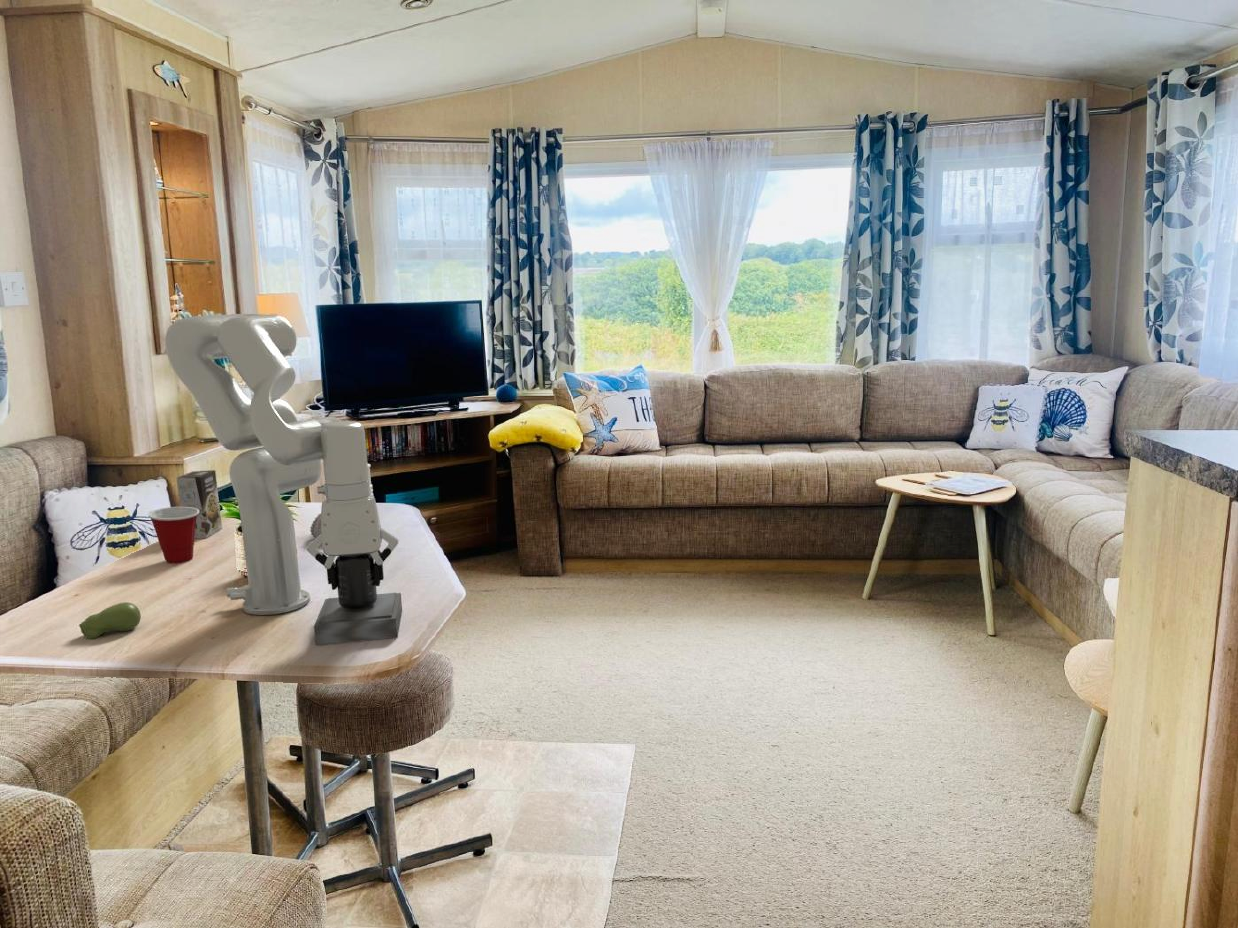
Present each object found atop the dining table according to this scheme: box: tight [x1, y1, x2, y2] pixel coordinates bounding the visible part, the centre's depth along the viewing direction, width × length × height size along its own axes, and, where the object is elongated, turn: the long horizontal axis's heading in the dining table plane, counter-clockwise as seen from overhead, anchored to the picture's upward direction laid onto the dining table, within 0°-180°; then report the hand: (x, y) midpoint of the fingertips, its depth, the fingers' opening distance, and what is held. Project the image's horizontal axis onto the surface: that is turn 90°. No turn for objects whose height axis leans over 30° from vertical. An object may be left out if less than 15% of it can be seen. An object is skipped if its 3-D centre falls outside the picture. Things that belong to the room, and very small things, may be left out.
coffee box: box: [176, 469, 223, 539], centre depth 236 cm, size 9×6×16 cm
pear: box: [78, 601, 142, 640], centre depth 169 cm, size 6×5×10 cm
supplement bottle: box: [334, 554, 378, 609], centre depth 166 cm, size 7×7×12 cm
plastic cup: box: [148, 506, 199, 565], centre depth 213 cm, size 11×11×12 cm
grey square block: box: [313, 592, 403, 646], centre depth 167 cm, size 14×14×4 cm
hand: (356, 584), depth 166 cm, fingers open, 7 cm apart
